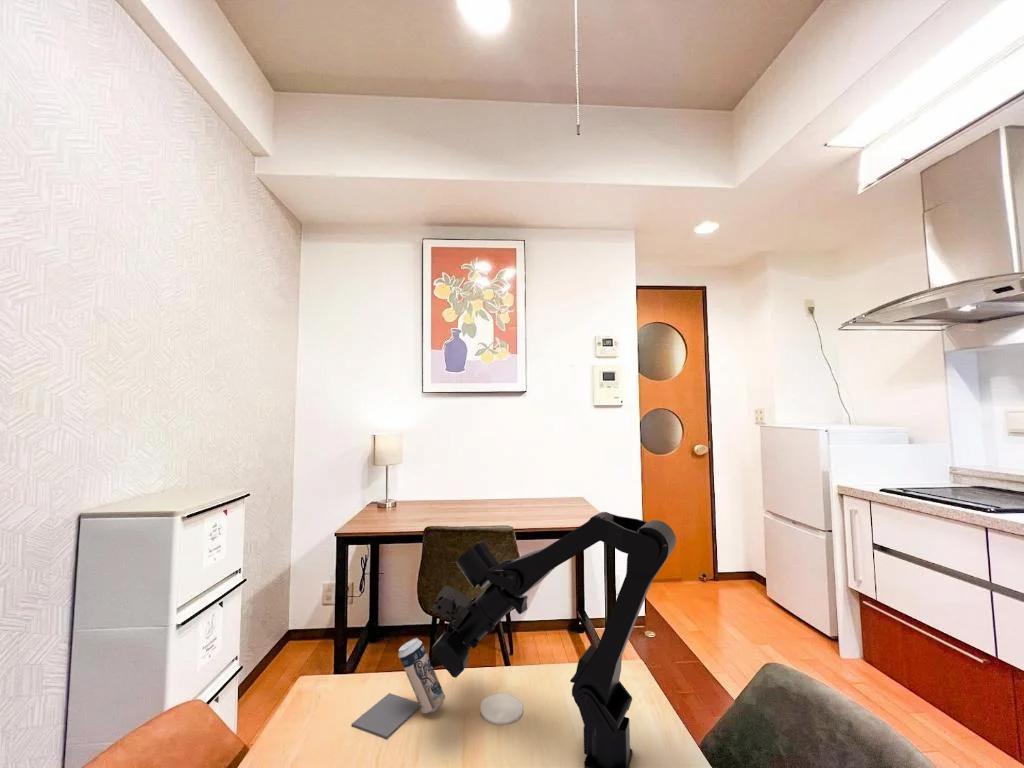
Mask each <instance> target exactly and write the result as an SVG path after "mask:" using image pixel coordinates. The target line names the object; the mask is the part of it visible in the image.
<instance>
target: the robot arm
mask: <svg viewBox="0 0 1024 768" xmlns="http://www.w3.org/2000/svg"><path fill="white" fill-rule="evenodd" d="M598 542H602V543H605V544H607V545H609V546H610V547H613V548H614V549H615V550H617V551H619V552H621V553H624V554H627V557H626V572H625V573H626V574H625V577H624V580H623V582H622V584H621V587H620V589H619V591H618V595H617V597H616V600H615V603H614V604H613V607H612V610H611V612H610V615H609V617H608V620H607V623H606V624H605V627H604V630H603V632H602V636H601V638H600V640H599V641H598V645H597V648H596V646H595V645H594V644H592V643H591V644H590V645H589V646H588V648H587V649H586V650H585V652H584V653H582V655H581V657H580V658H579V659H578V662H577V666H576V671H575V673H574V675H573V676H572V677H571V678H570V681H569V682H570V683H573V685H572V686H571V687H572V688H571V697H573V700H574V703H575V705H576V706H577V707H578V710H579V713H580V716H581V719H582V720H581V721H582V724H583V754H584V755H585V758H584V761H583V765H584V768H630V766H631V765H630V764H631V761H632V758H633V752H634V751H633V749H632V748H631V741H630V740H631V735H630V734H631V733H630V732H631V731H630V718H629V717H627V716H626V715H627V712H628V711H629V709H630V707H631V704H632V702H633V697H632V695H631V694H630V692H628V691H629V690H627V689H626V688H625V686H624V685H623V683H622V682H621V681H620V677H621V672H622V659H623V654H624V652H625V649H626V646H627V644H628V642H629V639H630V636H631V634H632V632H633V630H634V627H635V624H636V622H637V619H638V617H639V614H640V612H641V609H642V607H643V604H644V602H645V599H646V597H647V595H648V592H649V589H650V587H651V584H652V582H653V580H654V579H655V578H656V576H657V575H658V573H659V572H660V570H661V569H662V568H663V566H664V564H665V563H666V562H667V560H668V558H669V557H670V555H671V554H672V552H673V551H674V549H675V548H676V544H677V536H676V534H675V532H674V530H673V529H672V528H671V526H670V525H669V524H667V523H666V522H664V521H662V520H659V519H658V520H656V519H652V520H649V521H647V520H646V521H645V520H642V519H638V518H633V517H628V516H627V517H626V516H621V515H616V514H614V513H610V512H607V511H601V512H599V513H597V514H595V515H593V516H591V517H590V519H589V520H588V521H586V522H585V523H583V524H582V525H580V526H578V527H577V528H575V529H574V530H572V531H569V533H567V534H565V535H564V536H562V537H560V538H559V539H558V540H556V541H554V542H553V543H551V544H549V545H548V546H546V547H544V548H541V549H537V550H534V551H531V552H528V553H526V554H523V555H521V556H519V557H518V558H516V559H505V560H504V561H501V562H499V561H498V560H497V559H496V558H495V556H494V555H493V553H492V552H491V551H490V549H489V547H488V545H487V544H486V543H485V541H483V540H481V541H479V542H477V543H475V544H474V546H472V547H471V548H469V549H468V550H467V551H465V553H463V554H461V555H460V556H459V557H458V558H457V560H456V561H455V563H456V565H457V567H458V569H460V571H461V572H462V573H463V575H464V576H465V578H466V579H467V581H468V582H469V584H470V585H471V586H472V588H473V589H477V588H478V587H479V588H480V590H481V589H484V588H485V587H486V586H488V585H489V584H490V585H489V586H488V587H487V588H486V589H485V590H483V592H481V593H480V595H477V596H476V595H475V596H473V598H472V599H471V598H469V597H468V596H466V595H465V594H463V593H462V592H460V591H458V590H457V589H455V588H453V587H452V586H449V585H445V586H444V587H443V588H442V589H441V590H440V591H439V593H438V595H437V597H436V599H435V601H434V602H433V603H434V604H433V606H432V609H433V610H434V611H435V612H436V613H438V614H439V615H440V616H443V617H444V618H449V619H451V620H450V622H449V623H448V624H447V625H446V626H447V627H446V628H447V629H446V628H445V629H444V630H443V631H442V633H441V635H440V637H439V638H438V639H437V640H436V641H435V643H434V644H433V646H431V652H432V654H433V655H434V656H433V658H432V659H431V660H430V665H431V666H432V667H433V669H434V668H437V667H441V666H443V667H444V668H445V670H446V671H447V672H448V674H449V675H451V677H452V678H455V679H456V678H457V677H458V676H460V674H462V672H464V670H465V668H466V666H467V664H468V662H469V661H470V658H469V656H470V653H469V652H470V650H471V648H472V649H473V650H475V648H476V647H477V646H478V645H479V644H480V642H481V640H482V638H484V637H485V636H486V634H491V633H492V632H493V631H494V629H495V628H496V625H497V624H499V622H500V621H502V619H503V618H504V617H505V616H506V615H507V614H508V613H509V612H510V611H512V609H513V608H514V610H515V611H516V613H517V614H519V615H521V614H523V613H524V612H526V611H528V599H529V598H528V595H525V594H526V593H528V592H529V591H531V590H532V589H533V588H534V587H536V586H538V584H540V583H541V582H542V581H543V580H544V579H545V578H546V577H548V575H550V574H551V572H552V571H553V570H554V569H556V568H557V567H558V566H560V565H561V564H564V563H565V562H567V561H569V560H570V559H571V558H573V557H575V556H576V555H579V554H580V553H582V552H583V551H585V550H587V549H588V548H590V547H592V546H594V545H595V544H597V543H598Z"/></svg>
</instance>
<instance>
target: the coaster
mask: <svg viewBox="0 0 1024 768" xmlns="http://www.w3.org/2000/svg"><path fill="white" fill-rule="evenodd" d="M523 714H524V703H523V702H522V700H521V699H520V698H519V697H518V696H516V695H513V694H510V693H504V692H503V693H494V694H492V695H488V696H487V697H486V698H484V700H482V701H481V703H480V716H481V717H482V718H483V720H484V721H485V722H486V723H487V722H488V723H489V724H492V725H497V726H507V725H511V724H514V723H515V722H518V721H519V720H520V719H521V718H522V717H523Z"/></svg>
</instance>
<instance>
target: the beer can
mask: <svg viewBox="0 0 1024 768" xmlns="http://www.w3.org/2000/svg"><path fill="white" fill-rule="evenodd" d="M398 658H399V660H400V662H401V664H402V667H403V669H404V672H405V674H406V677H407V679H408V681H409V683H410V686H411V687H412V691H413V693H414V695H415V697H416V699H417V700H416V701H417V702H419V705H420V709H421V713H422V714H431V713H433V712H435V711H437V710H438V709H439V708H440V707H441V706H442V705H443V704H444V701H445V700H446V694H445V692H444V690H443V688H442V686H441V684H440V683H441V682H440V681H439V679H438V676H437V673H436V672H435V670H434V668H433V667H432V666H431V665H430V662H431V660H430V658H429V656H428V653H427V651H426V649H425V646H424V644H423V641H421V640H420V639H419V638H418V637H415V638H411V639H410V640H409V641H407V642H405V643H404V644H402V645H401V646H400V647H399V649H398Z"/></svg>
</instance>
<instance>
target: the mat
mask: <svg viewBox="0 0 1024 768" xmlns="http://www.w3.org/2000/svg"><path fill="white" fill-rule="evenodd" d="M420 709H421V707H420V705H419V702H418V701H417V700H416V701H415V700H413V699H409V698H406V697H404V696H403V697H402V696H401V695H396V694H393V693H391V692H389V693H387V694H386V695H385V696H384V697H382V698H381V699H380V700H378V701H377V702H376V703H375V704H374V705H373V706H372V707H370V708H369V709H368V710H367V711H365V712H364V713H363V714H362V715H361V716H359V717H358V718H357V719H356V720H355V721H353V722H351V727H353V728H356V729H358V730H361V731H364V732H366V733H368V734H369V733H370V734H372V735H373V736H374V735H375V736H378V737H379V738H383V739H385V740H388V739H389V738H390V737H391V736H392V735H393V734H395V733H396V732H397V730H398V729H399V728H401V726H403V725H404V724H405V723H406V722H407V721H408V720H409V719H410V718H411V717H413V715H414V714H415V713H416V712H417V711H419V710H420Z"/></svg>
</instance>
